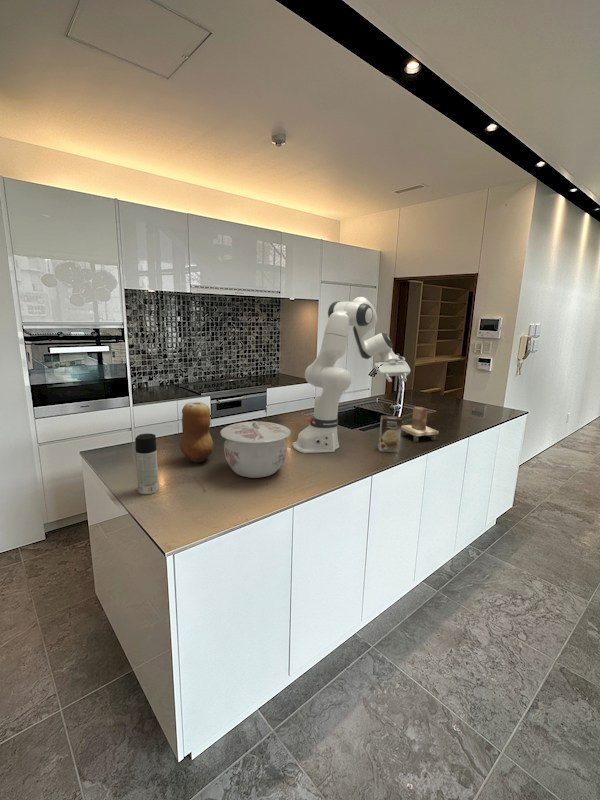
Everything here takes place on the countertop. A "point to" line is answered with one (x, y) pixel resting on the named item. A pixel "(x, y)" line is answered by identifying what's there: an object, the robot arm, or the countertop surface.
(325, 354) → the robot arm
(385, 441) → the coffee box
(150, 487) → the spray can
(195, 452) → the butternut squash
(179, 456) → the countertop surface
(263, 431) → the chamber pot
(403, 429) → the peg shelf
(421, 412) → the walnut block
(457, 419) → the countertop surface
